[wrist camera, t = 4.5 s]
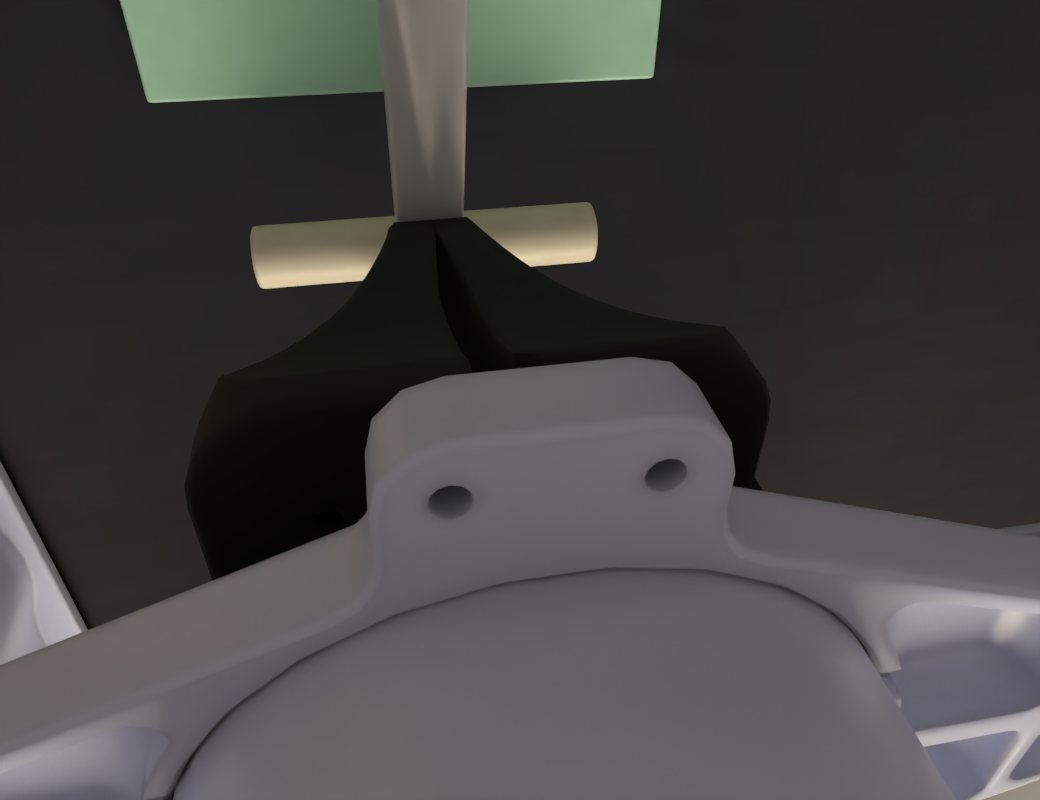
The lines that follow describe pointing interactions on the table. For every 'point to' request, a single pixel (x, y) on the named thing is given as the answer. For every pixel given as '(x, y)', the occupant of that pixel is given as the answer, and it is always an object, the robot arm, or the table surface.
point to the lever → (420, 165)
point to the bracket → (374, 45)
